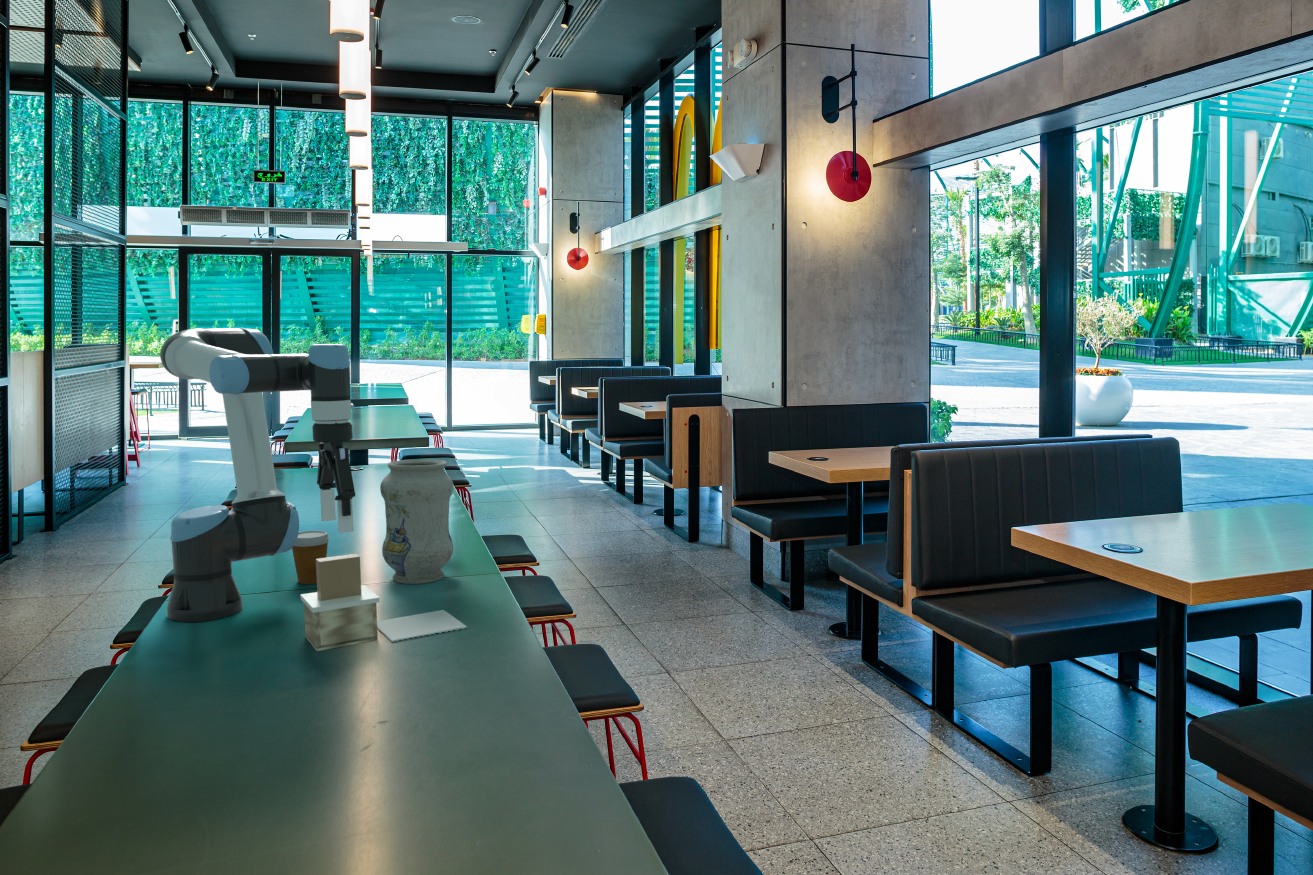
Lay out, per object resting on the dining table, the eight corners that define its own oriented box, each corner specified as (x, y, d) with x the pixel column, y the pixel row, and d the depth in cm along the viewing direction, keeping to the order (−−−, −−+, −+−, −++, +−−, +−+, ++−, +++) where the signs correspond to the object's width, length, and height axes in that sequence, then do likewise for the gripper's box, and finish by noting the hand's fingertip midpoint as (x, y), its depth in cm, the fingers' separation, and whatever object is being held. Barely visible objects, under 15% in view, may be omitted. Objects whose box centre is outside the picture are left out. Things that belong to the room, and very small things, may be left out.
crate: (316, 651, 181) (315, 611, 180) (305, 637, 190) (303, 599, 189) (377, 639, 188) (376, 601, 187) (364, 626, 196) (362, 590, 195)
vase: (427, 564, 248) (423, 454, 244) (470, 575, 237) (467, 460, 233) (369, 578, 234) (364, 462, 231) (411, 591, 223) (407, 469, 219)
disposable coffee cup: (318, 586, 227) (315, 539, 225) (283, 584, 229) (281, 537, 227) (338, 576, 236) (336, 531, 235) (305, 574, 238) (303, 529, 237)
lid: (313, 620, 180) (310, 568, 179) (300, 606, 189) (298, 556, 188) (379, 609, 187) (377, 558, 186) (364, 596, 196) (362, 548, 195)
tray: (392, 642, 186) (391, 640, 186) (372, 623, 198) (372, 622, 198) (466, 628, 195) (466, 626, 195) (443, 611, 207) (443, 609, 207)
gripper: (368, 425, 175) (373, 534, 178) (335, 416, 196) (340, 514, 198) (328, 427, 171) (333, 539, 173) (298, 418, 192) (303, 518, 194)
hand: (337, 526), depth 186 cm, fingers open, 13 cm apart
